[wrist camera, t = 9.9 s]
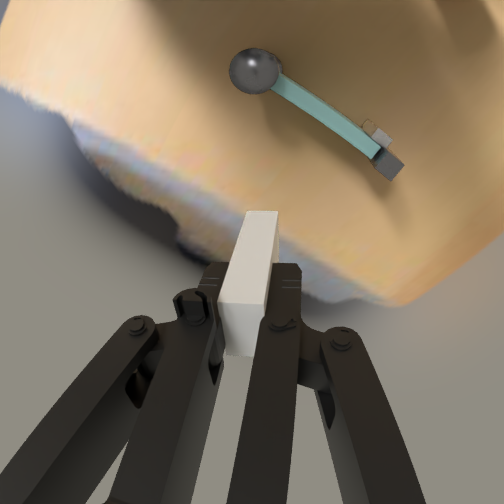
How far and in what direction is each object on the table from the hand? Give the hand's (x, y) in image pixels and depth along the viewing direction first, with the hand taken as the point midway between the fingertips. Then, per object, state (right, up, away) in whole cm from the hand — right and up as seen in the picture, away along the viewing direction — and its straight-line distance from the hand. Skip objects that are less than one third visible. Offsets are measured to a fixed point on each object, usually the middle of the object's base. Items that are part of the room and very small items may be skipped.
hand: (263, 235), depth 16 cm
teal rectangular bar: (+5, +14, +13) cm, 20 cm away
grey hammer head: (+1, +18, +13) cm, 22 cm away
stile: (+12, +10, +15) cm, 22 cm away
